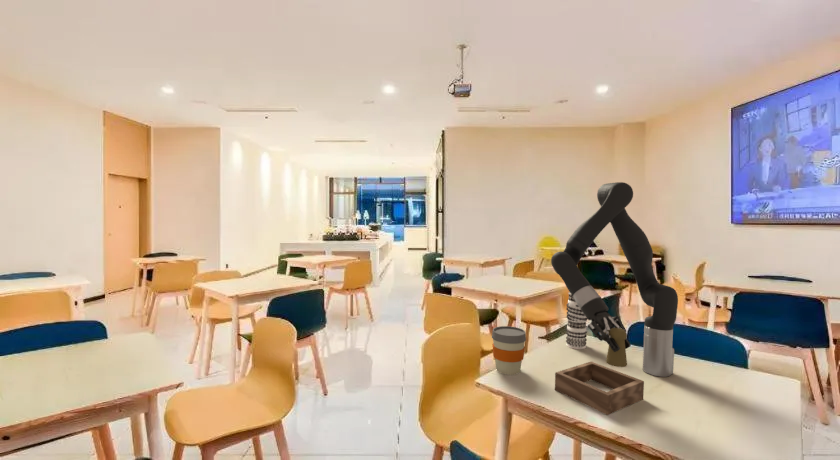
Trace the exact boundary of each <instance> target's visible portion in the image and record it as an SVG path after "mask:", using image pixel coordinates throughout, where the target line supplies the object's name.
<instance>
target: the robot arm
mask: <svg viewBox="0 0 840 460" xmlns="http://www.w3.org/2000/svg"><path fill="white" fill-rule="evenodd" d="M596 196H597V201H598V204H599V206H600V207H599V208H598V209H597V210H596V211H595V213H593V214H592V215H591V216H590V217H588V218H587V219H586V220H585V221H583V222H582V223H581V224H580V225H579V226H578V227H577V228H576V229H575V230H574V232H573V234H571V236H570V237H569V238H568V240H567V241H566V243H565V244H566V245H565V249H564V250H563V251H561V250H560V251H557V252H554V254H552V257H551V259H550V264H551V266H552V268H553V270H554V272H555V273H556V274H557V275H559V277H560V278H561V279H562V280H563V283H564V284H565V287H566V288H567V290H568V291H569V292H570V293H571V294H572V296H573V297H574V299H575V301H576V303H577V305H578V306H579V307H580V309H581V310H582V312H583V313H584V315H585V316H586V318H587V321H591V322H590V323H588V324H587V327H588V329H589V330H590V331H591V332H592V333H593V335H595V337H596V338H597V339H598V340H599V341H600V342H602V341H604V342H605V343H607V345H608V347H609V346H610V347H611V349H612V350H613V351H614V352H617V351H618V350H620V347H619V346H618V344H617V343H616V342H615V340H614V339H613V338H612V336H611V334H610V329H611V328H620V329H623V330H625V331H626V332H627V329H626V326H625V325H624V324H623V322H622V321H621V319H620V316H619V315H616V316H612V315H610V313H609V312H608V311H609V307H608V306H607V304H606V303H605V301H604V300H603V299H602V297H601V296H600V295H599V292H598V291H596V289H595V288H594V287H593V286H592V284H591V283H590V282H589V280H588V279H587V278H586V277H585V276H584V275H583V273H582V272H581V270H580V268H579V266H578V264H579V263H580V261H581V259H582V257H583V256H584V253H586V251H587V250H588V249H589V247H590V246H591V245H592V243H594V241H595V239H596V238H598V236H599V234H601V233H602V231H603V230H604V229H605V228H606V227H607V226H608V225H609V224H610V225H611V227H612V230H613V231H614V233H615V236H616V238H617V240H618V242H619V244H620V247H621V250H622V251H623V254H624V257H625V259H626V260H627V262H628V266H629V267H630V269H631V273H632V274H633V276H634V279H635V282H636V286H637V289H638V291H639V296H640V297H641V300H642V302H643V303H644V304H645V305H646V306H649V307H650V308H651V307H652V308H653V310H652V315H651V316H647V317H645V318H644V328H643V332H644V333H643V349H642V350H643V353H642V370H643V372H645V373H647V374H648V375H652V376H655V377H664V378H665V377H666V378H667V377H670V376H671V375H673V374H674V364H675V363H674V361H675V348H674V347H673V335H674V324H675V323H676V321H677V314H678V304H679V296H678V293H677V291H676V289H675V288H673V287H672V286H669V285H666V284H661V283H660V282H659V281H658V279H657V277H656V275H655V274H654V270H653V258H654V252H653V247H652V246H651V244H650V241H649V239H648V236H647V235H646V233H645V232H644V231H643V229H642V228H641V227H640V226H639V225H638V224H637V223H636V222H635V221H634V220H633V219H632V218H631V216H630V215H629V214H628V212H627V210H626V207H628V206H629V204H630V203H631V202H632V200H633V198H634V191H633V188H632V186H631V185H630V184H629V183H626V182H622V181H620V182H609V183H604V184H602V185H601V186H600V187H598V189H597V194H596ZM569 292H568V293H569ZM630 347H631V343H630V341H629V340H628V339H627V338H626V339H625V349H628V348H630Z"/></svg>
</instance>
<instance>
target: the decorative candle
mask: <svg viewBox="0 0 840 460" xmlns="http://www.w3.org/2000/svg"><path fill="white" fill-rule="evenodd" d="M567 294H568V300H567V303H566V309H565V310H566V320H567V325H566V330H565V331H566V337H565V339H566V340H565V342H566V344H565V346H567V347H568V348H571V349H575V350H584V349H586V348H587V337H588V335H587V333H588V331H587V322H588V319H587V318H586V316H585V315H584V313H583V312H582V310H581V309H580V307H579V306H578V305H577V303H576V301H575V299H574V297H573V296H572V294H571V293H570V292H567Z"/></svg>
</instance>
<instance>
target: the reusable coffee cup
mask: <svg viewBox="0 0 840 460" xmlns="http://www.w3.org/2000/svg"><path fill="white" fill-rule="evenodd" d="M526 334H527V333H526V330H524V329H523V328H520V327H516V326H508V325H502V326H495V327H494V328H492V332H491V339H492V341H493V342H492V354H493V357H494V362H495V370H496V369H497V370H496V372H498V373H499V374H503V375H507V376H514V375H515V376H516V375H518V374H520V373H521V369H522V367H521V366H522V362H523V360H524V357H525V351H526V346H525V342H526V341H527V337H526Z"/></svg>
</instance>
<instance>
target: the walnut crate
mask: <svg viewBox="0 0 840 460" xmlns="http://www.w3.org/2000/svg"><path fill="white" fill-rule="evenodd" d="M554 375H555V376H554V377H555V378H554V390H555V391H556V392H559V393H561V394H562V395H565V396H567V397H569V398H570V399H573V400H575V401H577V402H579V403H582V404H583V405H585V406H587V407H589V408H592V409H593V410H596V411H598V412H599V413H602V414H604V415H606V416H608V415H612V414H614V413H615V412H618V411H621V410H623V409H625V408H627V407H629V406H632V405H634V404H636V403H639V402H640V401H641V402H642V401H643V400H644V393H645V392H644V390H645V381H644V380H642V379H639V378H637V377H633V376H631V375H629V374H626V373H623V372H620V371H618V370H616V369H613V368H609V367H607V366H604V365H602V364H599V363H596V362H594V361H588V362H585V363H581V364H579V365H578V364H577V365H576V366H572V367H569V368H565V369H562V370H559V371H555V373H554ZM590 381H593V382H595V383H597V384H599V385H602V386H604V387H607V388H609V389H611V390H609V391H608V390H607V391H605V390H603V389H601V388H598V387H596V386H594V385H591V384H589V383H588V382H590Z"/></svg>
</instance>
